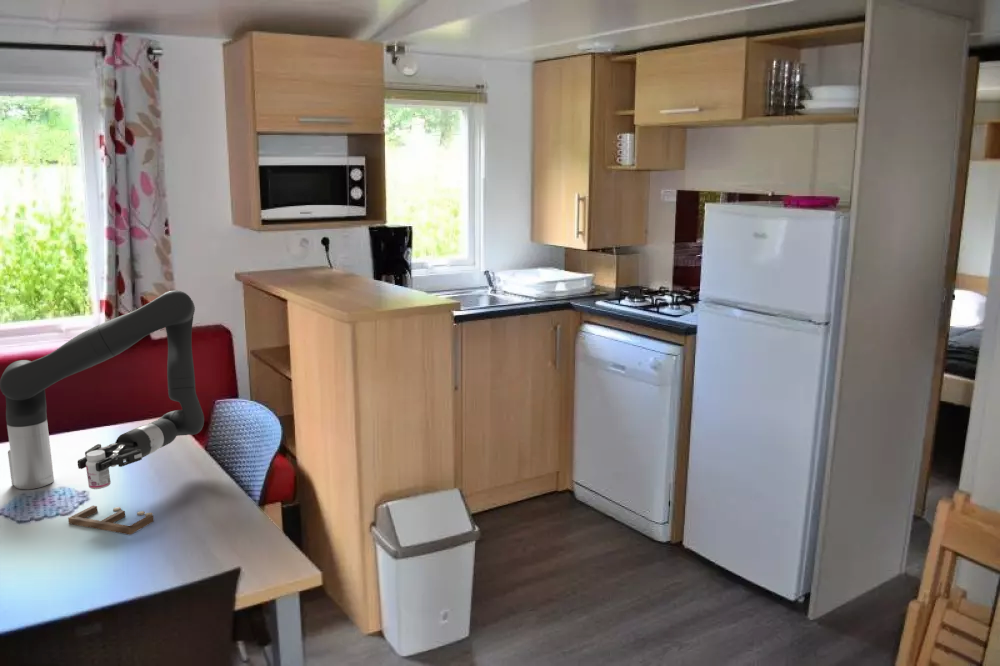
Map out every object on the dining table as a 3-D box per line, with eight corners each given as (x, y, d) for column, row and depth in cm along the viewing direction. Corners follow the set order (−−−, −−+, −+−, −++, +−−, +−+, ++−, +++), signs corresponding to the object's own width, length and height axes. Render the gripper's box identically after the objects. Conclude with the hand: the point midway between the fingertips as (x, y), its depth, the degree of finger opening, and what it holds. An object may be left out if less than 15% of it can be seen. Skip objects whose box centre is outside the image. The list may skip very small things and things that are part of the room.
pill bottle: (84, 487, 196) (79, 454, 194) (101, 480, 200) (97, 447, 198) (97, 491, 193) (93, 457, 192) (115, 483, 198) (110, 450, 196)
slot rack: (68, 523, 195) (68, 517, 195) (104, 505, 205) (103, 500, 205) (130, 534, 189) (129, 528, 189) (163, 515, 199) (163, 510, 199)
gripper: (116, 425, 210) (62, 448, 194) (161, 431, 206) (110, 454, 190) (119, 453, 212) (66, 477, 196) (164, 459, 207) (114, 484, 191)
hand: (88, 466), depth 193 cm, fingers closed on pill bottle, 4 cm apart
